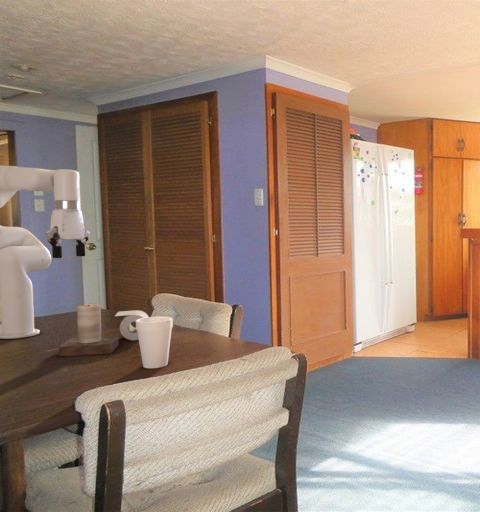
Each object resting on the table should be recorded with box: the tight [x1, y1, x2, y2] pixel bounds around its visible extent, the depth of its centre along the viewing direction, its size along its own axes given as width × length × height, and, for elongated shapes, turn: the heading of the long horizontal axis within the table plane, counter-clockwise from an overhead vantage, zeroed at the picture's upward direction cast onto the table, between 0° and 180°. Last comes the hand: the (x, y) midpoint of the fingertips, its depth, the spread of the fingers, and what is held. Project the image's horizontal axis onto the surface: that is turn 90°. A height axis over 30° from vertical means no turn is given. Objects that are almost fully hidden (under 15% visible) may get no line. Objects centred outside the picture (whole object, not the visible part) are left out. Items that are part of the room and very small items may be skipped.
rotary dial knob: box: [76, 303, 102, 343], centre depth 164 cm, size 6×6×11 cm
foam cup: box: [135, 316, 174, 369], centre depth 148 cm, size 10×9×13 cm
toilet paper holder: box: [114, 309, 150, 341], centre depth 184 cm, size 12×9×15 cm
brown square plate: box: [58, 335, 120, 357], centre depth 165 cm, size 14×12×3 cm
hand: (69, 257), depth 179 cm, fingers open, 9 cm apart
